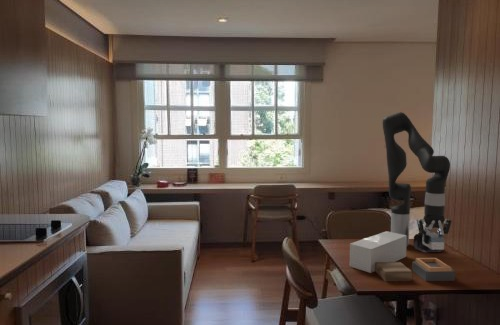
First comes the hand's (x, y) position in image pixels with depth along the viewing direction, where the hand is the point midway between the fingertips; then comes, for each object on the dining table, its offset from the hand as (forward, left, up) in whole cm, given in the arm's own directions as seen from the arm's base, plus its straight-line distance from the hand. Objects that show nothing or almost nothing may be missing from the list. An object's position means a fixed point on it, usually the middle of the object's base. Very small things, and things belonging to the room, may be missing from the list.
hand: (433, 243), depth 156 cm
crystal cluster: (-35, +16, -14) cm, 41 cm away
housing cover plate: (0, 0, +2) cm, 2 cm away
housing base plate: (0, 0, -1) cm, 1 cm away
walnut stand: (0, -17, -14) cm, 22 cm away
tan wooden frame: (0, 0, -14) cm, 14 cm away
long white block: (-18, -16, -14) cm, 28 cm away
